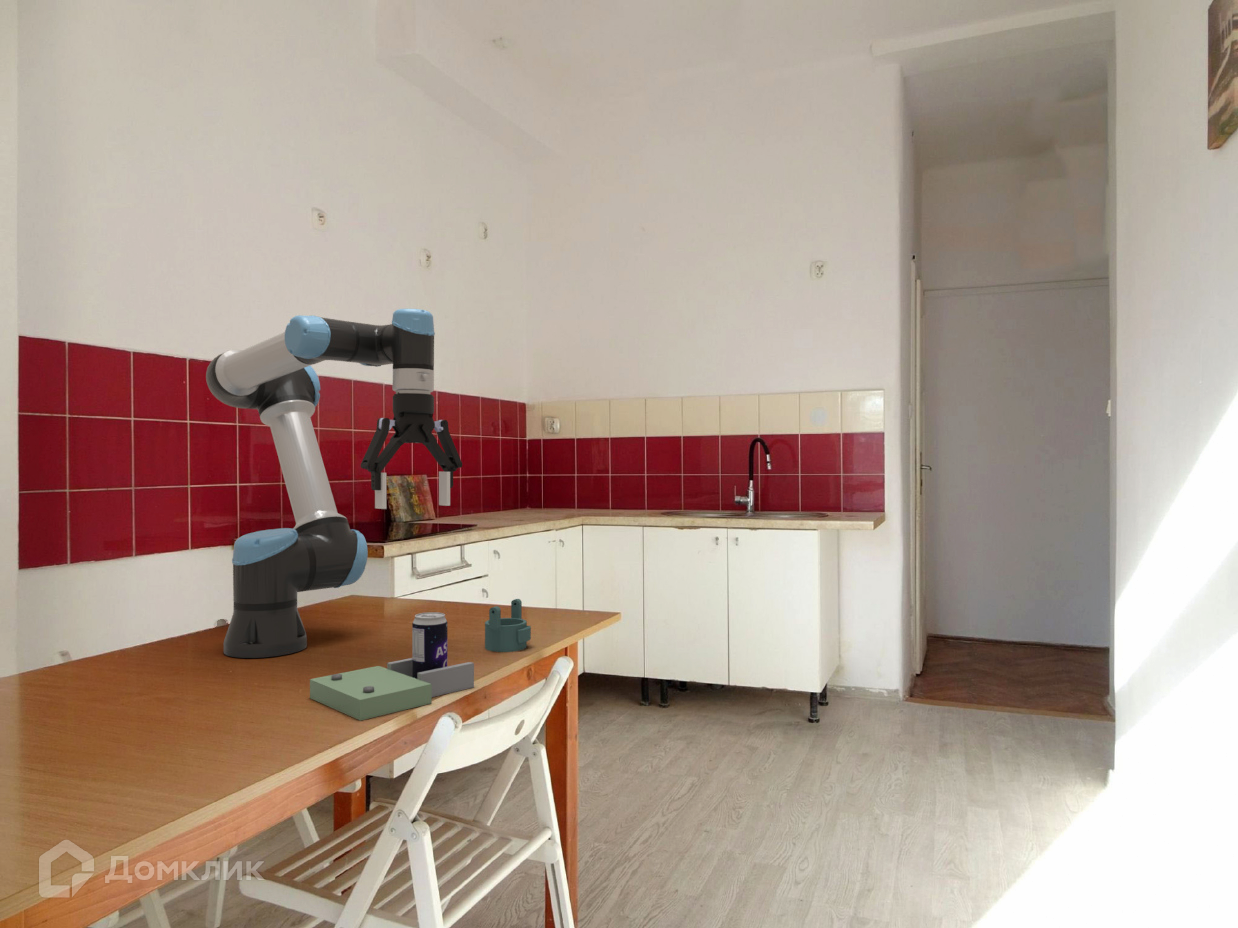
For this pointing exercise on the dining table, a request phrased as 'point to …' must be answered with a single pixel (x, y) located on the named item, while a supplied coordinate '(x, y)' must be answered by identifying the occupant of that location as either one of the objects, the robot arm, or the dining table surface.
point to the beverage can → (429, 642)
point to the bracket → (507, 630)
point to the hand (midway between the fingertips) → (413, 507)
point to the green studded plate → (388, 688)
